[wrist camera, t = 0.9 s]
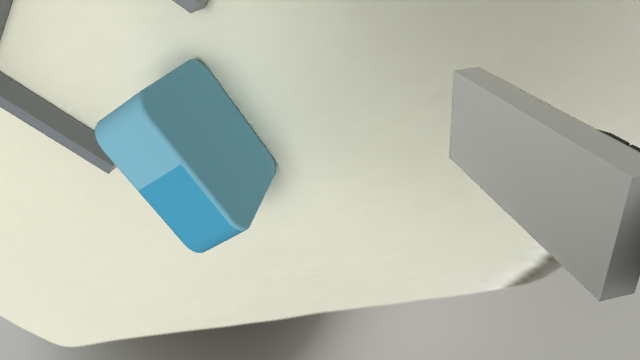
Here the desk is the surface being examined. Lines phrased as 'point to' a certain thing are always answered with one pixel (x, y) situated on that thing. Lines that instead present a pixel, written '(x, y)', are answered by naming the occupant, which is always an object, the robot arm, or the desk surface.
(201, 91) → the data package
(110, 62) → the desk surface
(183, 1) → the dock bay
